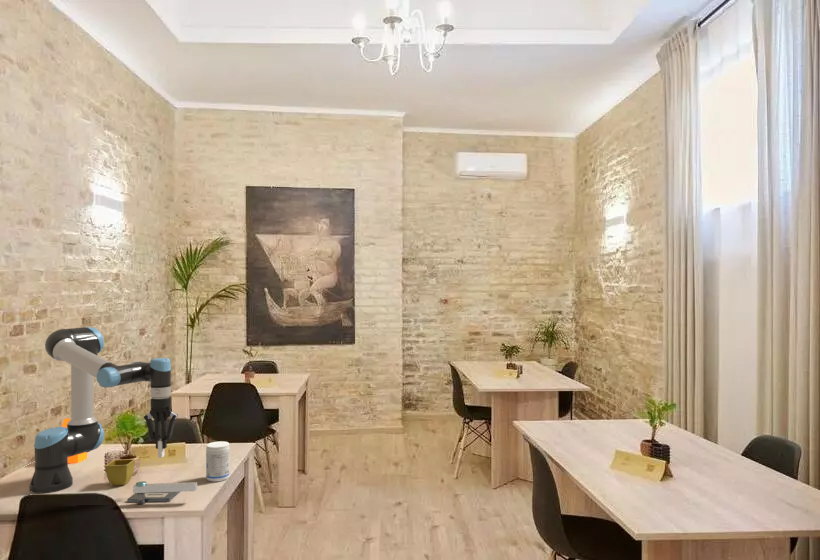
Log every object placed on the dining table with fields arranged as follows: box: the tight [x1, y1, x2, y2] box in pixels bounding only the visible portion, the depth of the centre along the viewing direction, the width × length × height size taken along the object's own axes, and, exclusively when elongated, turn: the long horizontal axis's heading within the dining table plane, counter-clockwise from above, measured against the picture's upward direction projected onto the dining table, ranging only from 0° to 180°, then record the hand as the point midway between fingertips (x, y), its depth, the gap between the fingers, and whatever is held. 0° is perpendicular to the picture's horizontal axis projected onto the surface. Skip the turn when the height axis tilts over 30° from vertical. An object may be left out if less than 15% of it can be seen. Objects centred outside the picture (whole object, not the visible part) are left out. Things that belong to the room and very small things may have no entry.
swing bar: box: [132, 480, 198, 494], centre depth 223 cm, size 23×4×3 cm, turn 93°
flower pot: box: [105, 458, 136, 487], centre depth 245 cm, size 9×9×9 cm
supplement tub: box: [205, 440, 231, 483], centre depth 251 cm, size 10×10×15 cm
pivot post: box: [136, 493, 146, 506], centre depth 222 cm, size 3×3×4 cm
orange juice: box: [61, 418, 88, 464], centre depth 279 cm, size 8×9×20 cm
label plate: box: [126, 492, 181, 503], centre depth 230 cm, size 16×13×2 cm
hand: (161, 456), depth 234 cm, fingers closed
